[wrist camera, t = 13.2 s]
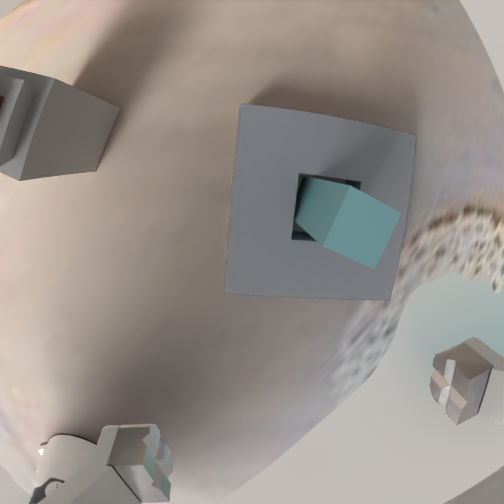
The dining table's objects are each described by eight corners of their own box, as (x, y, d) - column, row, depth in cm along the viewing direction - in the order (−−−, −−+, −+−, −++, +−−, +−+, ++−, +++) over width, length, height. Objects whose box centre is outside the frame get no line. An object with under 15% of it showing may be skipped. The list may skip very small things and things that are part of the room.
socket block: (370, 282, 34) (389, 300, 30) (224, 274, 33) (224, 293, 28) (391, 137, 30) (416, 135, 25) (238, 113, 29) (241, 103, 24)
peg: (323, 230, 31) (374, 269, 20) (287, 214, 31) (322, 246, 19) (340, 193, 30) (401, 213, 19) (304, 176, 30) (350, 185, 18)
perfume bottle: (95, 171, 29) (-25, 188, 12) (46, 151, 28) (-80, 157, 11) (120, 108, 28) (15, 62, 10) (69, 91, 26) (-48, 52, 9)
